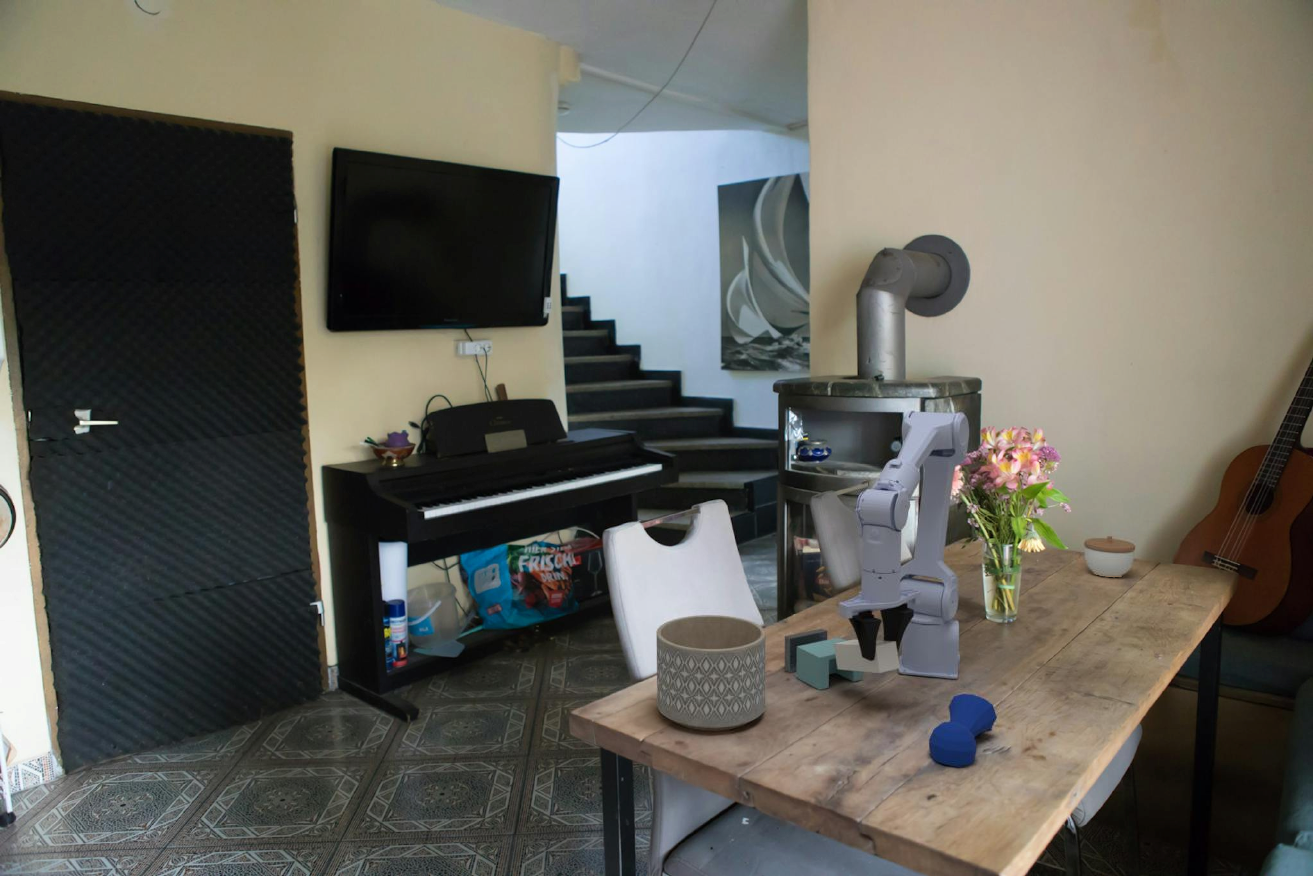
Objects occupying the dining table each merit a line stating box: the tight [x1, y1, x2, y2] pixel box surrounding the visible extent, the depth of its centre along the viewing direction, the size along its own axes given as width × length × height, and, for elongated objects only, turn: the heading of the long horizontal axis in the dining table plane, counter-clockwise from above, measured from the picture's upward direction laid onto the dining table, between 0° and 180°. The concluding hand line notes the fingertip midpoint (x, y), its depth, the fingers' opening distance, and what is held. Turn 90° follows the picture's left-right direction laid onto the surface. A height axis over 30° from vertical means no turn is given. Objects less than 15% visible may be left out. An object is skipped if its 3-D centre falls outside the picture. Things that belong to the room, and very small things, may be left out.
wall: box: [784, 628, 828, 674], centre depth 153 cm, size 2×8×6 cm, turn 118°
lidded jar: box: [1083, 535, 1136, 575], centre depth 210 cm, size 11×11×9 cm
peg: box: [834, 638, 900, 674], centre depth 138 cm, size 10×4×4 cm, turn 28°
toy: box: [928, 693, 998, 768], centre depth 123 cm, size 7×6×15 cm
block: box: [796, 637, 863, 691], centre depth 148 cm, size 6×9×5 cm, turn 118°
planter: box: [656, 614, 766, 732], centre depth 135 cm, size 16×16×13 cm
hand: (879, 655), depth 135 cm, fingers closed on peg, 4 cm apart
